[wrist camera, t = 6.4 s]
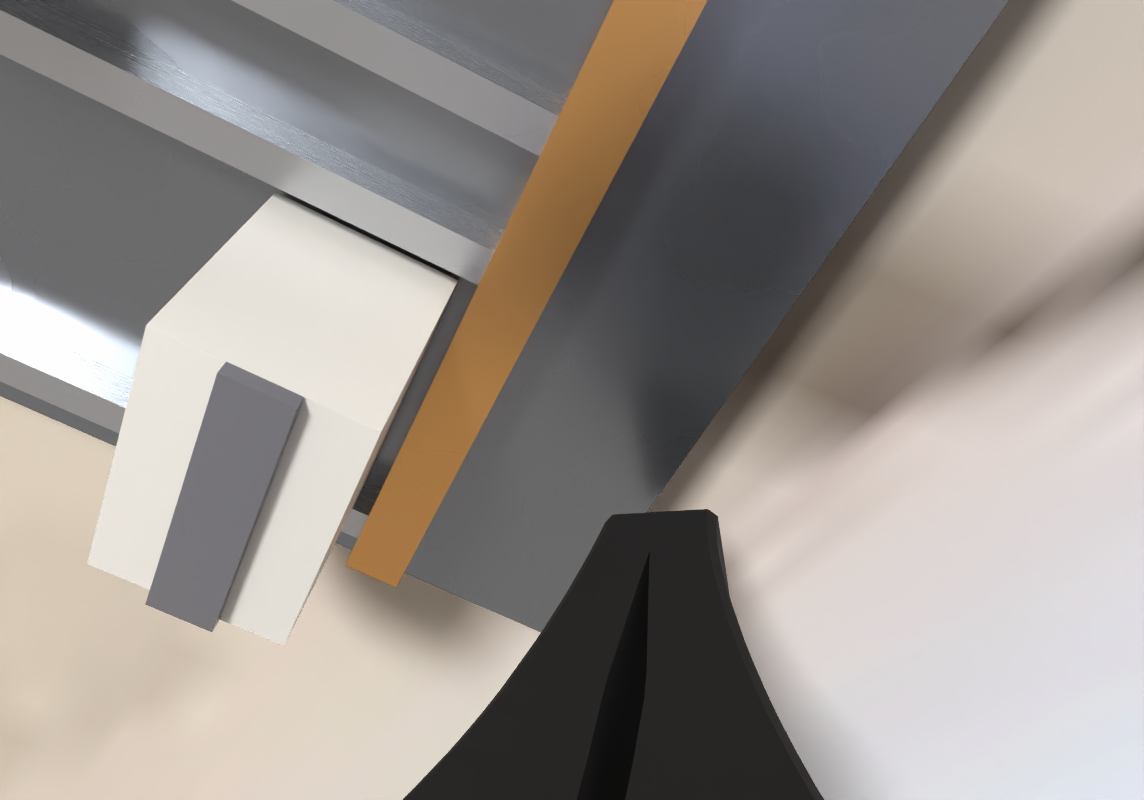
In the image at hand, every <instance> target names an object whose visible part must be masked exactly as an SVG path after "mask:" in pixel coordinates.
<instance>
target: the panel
mask: <svg viewBox="0 0 1144 800" xmlns="http://www.w3.org/2000/svg"><path fill="white" fill-rule="evenodd" d="M1008 1H1009V0H0V396H2V397H4V398H7V399H9V400H11V401H13V402H16V403H18V404H20V405H23V406H25V407H27V408H29V409H32V410H34V411H36V412H39V413H41V414H43V415H45V416H48V417H50V418H52V419H55V420H57V421H59V422H61V423H64V424H66V425H68V426H71V427H73V428H75V429H77V430H80V431H82V432H84V433H87V434H89V435H91V436H93V437H96V438H98V439H100V440H103V441H105V442H107V443H109V444H112V445H114V446H116V445H117V441H118V437H119V433H120V429H121V425H122V421H123V417H124V413H125V409H126V405H127V401H128V396H129V392H130V388H131V384H132V380H133V376H134V372H135V368H136V364H137V360H138V356H139V352H140V348H141V344H142V340H143V336H144V332H145V328H146V325H147V324H148V323H149V322H150V321H151V320H152V319H153V317H154V316H155V315H156V314H157V313H158V312H159V311H160V310H161V309H162V308H163V307H164V306H165V305H166V304H167V303H168V302H169V301H170V300H171V299H172V298H173V297H174V296H175V295H176V294H177V293H178V292H179V291H180V290H181V289H182V288H183V287H184V286H185V285H186V284H187V283H188V282H189V281H190V280H191V278H192V277H193V276H194V275H195V274H196V273H197V272H198V271H199V270H200V269H201V268H202V267H203V266H204V265H205V264H206V263H207V262H208V261H209V260H210V259H211V258H212V257H213V256H214V255H215V254H216V253H217V252H218V251H219V250H220V249H221V248H222V247H223V246H224V245H225V244H226V243H227V242H228V241H229V240H230V238H231V237H232V236H233V235H234V234H235V233H236V232H237V231H238V230H239V229H240V228H241V227H242V226H243V225H244V224H245V223H246V222H247V221H248V220H249V219H250V218H251V217H252V216H253V215H254V214H255V213H256V212H257V211H258V210H259V209H260V208H261V207H262V206H263V205H264V204H265V203H266V202H267V201H268V200H269V198H270V197H271V196H272V195H273V194H274V193H275V192H276V193H278V194H280V195H282V196H284V197H287V198H289V199H291V200H293V201H295V202H297V203H299V204H301V205H303V206H305V207H307V208H309V209H311V210H314V211H316V212H318V213H320V214H322V215H324V216H326V217H328V218H330V219H332V220H334V221H336V222H338V223H340V224H343V225H345V226H347V227H349V228H351V229H353V230H355V231H357V232H359V233H361V234H363V235H365V236H367V237H369V238H372V239H374V240H376V241H378V242H380V243H382V244H384V245H386V246H388V247H390V248H392V249H394V250H396V251H398V252H401V253H403V254H405V255H407V256H409V257H411V258H413V259H415V260H417V261H419V262H421V263H423V264H425V265H427V266H430V267H432V268H434V269H436V270H438V271H440V272H442V273H444V274H446V275H448V276H450V277H452V278H454V279H456V280H458V282H457V284H456V286H455V288H454V290H453V292H452V295H451V297H450V299H449V301H448V303H447V306H446V308H445V310H444V312H443V314H442V316H441V319H440V321H439V323H438V325H437V327H436V329H435V332H434V334H433V336H432V338H431V340H430V343H429V345H428V347H427V349H426V351H425V353H424V356H423V358H422V360H421V362H420V364H419V366H418V369H417V371H416V373H415V375H414V377H413V380H412V382H411V384H410V386H409V388H408V390H407V393H406V395H405V397H404V399H403V401H402V403H401V406H400V408H399V410H398V412H397V414H396V416H395V419H394V421H393V423H392V425H391V427H390V430H389V432H388V434H387V436H386V438H385V440H384V443H383V445H382V447H381V449H380V451H379V453H378V456H377V458H376V460H375V462H374V464H373V467H372V469H371V471H370V473H369V475H368V477H367V479H366V481H365V483H364V485H363V487H362V490H361V492H360V494H359V496H358V498H357V500H356V502H355V504H354V506H353V508H352V510H351V512H350V514H349V516H348V518H347V520H346V522H345V524H344V526H343V528H342V530H341V532H340V534H339V536H338V538H337V540H336V543H338V544H340V545H343V546H345V547H347V548H350V549H352V552H351V554H350V556H349V559H348V561H347V563H346V565H345V566H348V567H350V568H352V569H355V570H357V571H359V572H362V573H364V574H366V575H368V576H371V577H373V578H375V579H378V580H380V581H382V582H385V583H387V584H389V585H391V586H394V587H397V585H398V583H399V581H400V579H401V577H402V575H403V573H407V574H409V575H411V576H414V577H416V578H418V579H420V580H423V581H425V582H427V583H430V584H432V585H434V586H436V587H439V588H441V589H443V590H446V591H448V592H450V593H452V594H455V595H457V596H459V597H462V598H464V599H466V600H468V601H471V602H473V603H475V604H478V605H480V606H482V607H484V608H487V609H489V610H491V611H494V612H496V613H498V614H500V615H503V616H505V617H507V618H510V619H512V620H514V621H516V622H519V623H521V624H523V625H526V626H528V627H530V628H533V629H535V630H537V631H539V632H542V630H543V629H544V627H545V626H546V624H547V623H548V621H549V619H550V618H551V616H552V615H553V613H554V612H555V610H556V608H557V607H558V605H559V604H560V602H561V600H562V599H563V597H564V596H565V594H566V593H567V591H568V589H569V587H570V586H571V584H572V582H573V581H574V579H575V577H576V575H577V574H578V572H579V570H580V569H581V567H582V565H583V563H584V562H585V560H586V558H587V556H588V554H589V552H590V551H591V549H592V547H593V545H594V543H595V541H596V539H597V537H598V536H599V534H600V532H601V530H602V528H603V526H604V524H605V522H606V521H607V520H608V519H609V518H610V517H611V516H612V515H613V514H631V513H646V512H647V511H648V509H649V508H650V506H651V505H652V504H653V502H654V501H655V499H656V498H657V496H658V495H659V494H660V492H661V491H662V489H663V488H664V487H665V485H666V484H667V482H668V481H669V480H670V478H671V477H672V475H673V474H674V472H675V471H676V470H677V468H678V467H679V465H680V464H681V463H682V461H683V460H684V458H685V457H686V456H687V454H688V453H689V451H690V450H691V448H692V447H693V446H694V444H695V443H696V441H697V440H698V439H699V437H700V436H701V434H702V433H703V432H704V430H705V429H706V427H707V426H708V424H709V423H710V422H711V420H712V419H713V417H714V416H715V415H716V413H717V412H718V410H719V409H720V408H721V406H722V405H723V403H724V402H725V400H726V399H727V398H728V396H729V395H730V393H731V392H732V391H733V389H734V388H735V386H736V385H737V383H738V382H739V381H740V379H741V378H742V376H743V375H744V374H745V372H746V371H747V369H748V368H749V367H750V365H751V364H752V362H753V361H754V359H755V358H756V357H757V355H758V354H759V352H760V351H761V350H762V348H763V347H764V345H765V344H766V343H767V341H768V340H769V338H770V337H771V335H772V334H773V333H774V331H775V330H776V328H777V327H778V326H779V324H780V323H781V321H782V320H783V319H784V317H785V316H786V314H787V313H788V311H789V310H790V309H791V307H792V306H793V304H794V303H795V302H796V300H797V299H798V297H799V296H800V295H801V293H802V292H803V290H804V289H805V287H806V286H807V285H808V283H809V282H810V280H811V279H812V278H813V276H814V275H815V273H816V272H817V271H818V269H819V268H820V266H821V265H822V263H823V262H824V261H825V259H826V258H827V256H828V255H829V254H830V252H831V251H832V249H833V248H834V247H835V245H836V244H837V242H838V241H839V239H840V238H841V237H842V235H843V234H844V232H845V231H846V230H847V228H848V227H849V225H850V224H851V223H852V221H853V220H854V218H855V217H856V215H857V214H858V213H859V211H860V210H861V208H862V207H863V206H864V204H865V203H866V201H867V200H868V199H869V197H870V196H871V194H872V193H873V191H874V190H875V189H876V187H877V186H878V184H879V183H880V182H881V180H882V179H883V177H884V176H885V175H886V173H887V172H888V170H889V169H890V167H891V166H892V165H893V163H894V162H895V160H896V159H897V158H898V156H899V155H900V153H901V152H902V150H903V149H904V148H905V146H906V145H907V143H908V142H909V141H910V139H911V138H912V136H913V135H914V134H915V132H916V131H917V129H918V128H919V126H920V125H921V124H922V122H923V121H924V119H925V118H926V117H927V115H928V114H929V112H930V111H931V110H932V108H933V107H934V105H935V104H936V102H937V101H938V100H939V98H940V97H941V95H942V94H943V93H944V91H945V90H946V88H947V87H948V86H949V84H950V83H951V81H952V80H953V78H954V77H955V76H956V74H957V73H958V71H959V70H960V69H961V67H962V66H963V64H964V63H965V62H966V60H967V59H968V57H969V56H970V54H971V53H972V52H973V50H974V49H975V47H976V46H977V45H978V43H979V42H980V40H981V39H982V38H983V36H984V35H985V33H986V32H987V30H988V29H989V28H990V26H991V25H992V23H993V22H994V21H995V19H996V18H997V16H998V15H999V14H1000V12H1001V11H1002V9H1003V8H1004V6H1005V5H1006V4H1007V2H1008Z"/></svg>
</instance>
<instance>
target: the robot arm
mask: <svg viewBox="0 0 1144 800" xmlns="http://www.w3.org/2000/svg"><path fill="white" fill-rule="evenodd" d="M403 800H824V799H823V797H822V795H821V794H820V792H819V791H818V789H817V787H816V786H815V784H814V782H813V781H812V779H811V777H810V775H809V774H808V772H807V770H806V768H805V766H804V765H803V763H802V761H801V759H800V758H799V756H798V754H797V752H796V750H795V749H794V747H793V745H792V743H791V741H790V739H789V737H788V735H787V733H786V731H785V729H784V728H783V726H782V724H781V722H780V720H779V718H778V716H777V714H776V712H775V710H774V708H773V706H772V703H771V701H770V699H769V697H768V695H767V693H766V691H765V688H764V686H763V684H762V681H761V679H760V677H759V675H758V672H757V670H756V668H755V665H754V663H753V661H752V658H751V656H750V653H749V651H748V648H747V646H746V643H745V641H744V638H743V635H742V632H741V629H740V627H739V624H738V621H737V618H736V615H735V612H734V609H733V606H732V603H731V600H730V597H729V590H728V583H727V576H726V569H725V563H724V556H723V549H722V542H721V536H720V529H719V522H718V516H717V515H715V514H714V513H712V512H711V511H710V510H708V509H704V510H686V511H667V512H649V513H631V514H613V515H612V516H611V517H610V518H609V519H608V520H607V521H606V522H605V524H604V526H603V528H602V530H601V532H600V534H599V536H598V537H597V539H596V541H595V543H594V545H593V547H592V549H591V551H590V552H589V554H588V556H587V558H586V560H585V562H584V563H583V565H582V567H581V569H580V570H579V572H578V574H577V575H576V577H575V579H574V581H573V582H572V584H571V586H570V587H569V589H568V591H567V593H566V594H565V596H564V597H563V599H562V600H561V602H560V604H559V605H558V607H557V608H556V610H555V612H554V613H553V615H552V616H551V618H550V619H549V621H548V623H547V624H546V626H545V627H544V629H543V630H542V632H541V634H540V635H539V637H538V638H537V640H536V641H535V642H534V644H533V645H532V647H531V648H530V649H529V651H528V652H527V654H526V655H525V656H524V658H523V659H522V661H521V662H520V663H519V665H518V666H517V668H516V669H515V670H514V672H513V673H512V675H511V676H510V677H509V679H508V680H507V681H506V683H505V684H504V686H503V687H502V688H501V690H500V691H499V692H498V693H497V695H496V696H495V697H494V699H493V700H492V701H491V702H490V704H489V705H488V706H487V707H486V709H485V710H484V711H483V712H482V714H481V715H480V716H479V717H478V718H477V720H476V721H475V722H474V723H473V724H472V726H471V727H470V728H469V729H468V730H467V731H466V733H465V734H464V735H463V736H462V737H461V738H460V740H459V741H458V742H457V743H456V744H455V745H454V746H453V748H452V749H451V750H450V751H449V752H448V753H447V754H446V755H445V756H444V757H443V758H442V759H441V760H440V761H439V762H438V764H437V765H436V766H435V767H434V768H433V769H432V770H431V771H430V772H429V773H428V774H427V775H426V776H425V777H424V778H423V779H422V780H421V782H420V783H419V784H418V785H417V786H416V787H415V788H414V789H413V790H412V791H411V792H410V793H409V794H408V795H407V796H406V797H405V798H404V799H403Z"/></svg>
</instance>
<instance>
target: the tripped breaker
mask: <svg viewBox="0 0 1144 800" xmlns="http://www.w3.org/2000/svg"><path fill="white" fill-rule="evenodd" d="M457 282H458V280H456V279H454V278H452V277H450V276H448V275H446V274H444V273H442V272H440V271H438V270H436V269H434V268H432V267H430V266H427V265H425V264H423V263H421V262H419V261H417V260H415V259H413V258H411V257H409V256H407V255H405V254H403V253H401V252H398V251H396V250H394V249H392V248H390V247H388V246H386V245H384V244H382V243H380V242H378V241H376V240H374V239H372V238H369V237H367V236H365V235H363V234H361V233H359V232H357V231H355V230H353V229H351V228H349V227H347V226H345V225H343V224H340V223H338V222H336V221H334V220H332V219H330V218H328V217H326V216H324V215H322V214H320V213H318V212H316V211H314V210H311V209H309V208H307V207H305V206H303V205H301V204H299V203H297V202H295V201H293V200H291V199H289V198H287V197H284V196H282V195H280V194H278V193H276V192H275V193H274V194H273V195H272V196H271V197H270V198H269V200H268V201H267V202H266V203H265V204H264V205H263V206H262V207H261V208H260V209H259V210H258V211H257V212H256V213H255V214H254V215H253V216H252V217H251V218H250V219H249V220H248V221H247V222H246V223H245V224H244V225H243V226H242V227H241V228H240V229H239V230H238V231H237V232H236V233H235V234H234V235H233V236H232V237H231V238H230V240H229V241H228V242H227V243H226V244H225V245H224V246H223V247H222V248H221V249H220V250H219V251H218V252H217V253H216V254H215V255H214V256H213V257H212V258H211V259H210V260H209V261H208V262H207V263H206V264H205V265H204V266H203V267H202V268H201V269H200V270H199V271H198V272H197V273H196V274H195V275H194V276H193V277H192V278H191V280H190V281H189V282H188V283H187V284H186V285H185V286H184V287H183V288H182V289H181V290H180V291H179V292H178V293H177V294H176V295H175V296H174V297H173V298H172V299H171V300H170V301H169V302H168V303H167V304H166V305H165V306H164V307H163V308H162V309H161V310H160V311H159V312H158V313H157V314H156V315H155V316H154V317H153V319H152V320H151V321H150V322H149V323H148V324H147V325H146V328H145V332H144V336H143V340H142V344H141V348H140V352H139V356H138V360H137V364H136V368H135V372H134V376H133V380H132V384H131V388H130V392H129V396H128V401H127V405H126V409H125V413H124V417H123V421H122V425H121V429H120V433H119V437H118V441H117V445H116V449H115V453H114V457H113V461H112V465H111V469H110V473H109V477H108V481H107V485H106V489H105V493H104V497H103V502H102V506H101V510H100V514H99V518H98V522H97V526H96V530H95V534H94V538H93V542H92V546H91V550H90V554H89V558H88V562H87V564H89V565H91V566H94V567H96V568H98V569H101V570H103V571H105V572H108V573H110V574H113V575H115V576H117V577H120V578H122V579H125V580H127V581H129V582H132V583H134V584H136V585H139V586H141V587H144V588H146V589H148V590H150V591H149V595H148V598H147V601H146V605H148V606H151V607H153V608H155V609H158V610H160V611H163V612H165V613H167V614H170V615H172V616H174V617H177V618H179V619H182V620H184V621H186V622H189V623H191V624H194V625H196V626H198V627H201V628H203V629H206V630H208V631H210V632H212V631H213V630H214V628H215V626H216V624H217V623H218V621H219V619H220V620H222V621H225V622H227V623H229V624H232V625H234V626H237V627H239V628H241V629H244V630H246V631H248V632H251V633H253V634H256V635H258V636H260V637H263V638H265V639H268V640H270V641H272V642H275V643H277V644H279V645H282V646H284V645H285V643H286V641H287V639H288V637H289V635H290V633H291V631H292V629H293V627H294V625H295V623H296V621H297V619H298V617H299V615H300V613H301V611H302V609H303V607H304V605H305V603H306V601H307V599H308V597H309V595H310V593H311V591H312V589H313V587H314V585H315V582H316V580H317V578H318V576H319V574H320V572H321V570H322V568H323V566H324V564H325V562H326V560H327V558H328V556H329V554H330V552H331V550H332V548H333V546H334V544H335V542H336V540H337V538H338V536H339V534H340V532H341V530H342V528H343V526H344V524H345V522H346V520H347V518H348V516H349V514H350V512H351V510H352V508H353V506H354V504H355V502H356V500H357V498H358V496H359V494H360V492H361V490H362V487H363V485H364V483H365V481H366V479H367V477H368V475H369V473H370V471H371V469H372V467H373V464H374V462H375V460H376V458H377V456H378V453H379V451H380V449H381V447H382V445H383V443H384V440H385V438H386V436H387V434H388V432H389V430H390V427H391V425H392V423H393V421H394V419H395V416H396V414H397V412H398V410H399V408H400V406H401V403H402V401H403V399H404V397H405V395H406V393H407V390H408V388H409V386H410V384H411V382H412V380H413V377H414V375H415V373H416V371H417V369H418V366H419V364H420V362H421V360H422V358H423V356H424V353H425V351H426V349H427V347H428V345H429V343H430V340H431V338H432V336H433V334H434V332H435V329H436V327H437V325H438V323H439V321H440V319H441V316H442V314H443V312H444V310H445V308H446V306H447V303H448V301H449V299H450V297H451V295H452V292H453V290H454V288H455V286H456V284H457Z"/></svg>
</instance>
